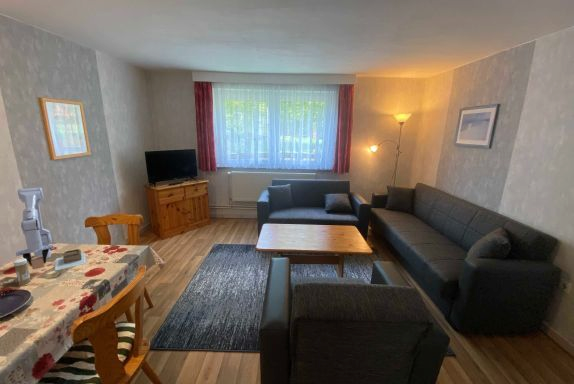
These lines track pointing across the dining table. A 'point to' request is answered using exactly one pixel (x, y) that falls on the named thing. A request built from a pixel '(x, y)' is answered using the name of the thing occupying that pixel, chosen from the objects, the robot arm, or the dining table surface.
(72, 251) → the frame
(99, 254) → the dining table surface
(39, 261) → the terracotta block
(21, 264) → the spice jar
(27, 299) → the dining table surface
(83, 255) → the board
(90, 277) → the dining table surface
